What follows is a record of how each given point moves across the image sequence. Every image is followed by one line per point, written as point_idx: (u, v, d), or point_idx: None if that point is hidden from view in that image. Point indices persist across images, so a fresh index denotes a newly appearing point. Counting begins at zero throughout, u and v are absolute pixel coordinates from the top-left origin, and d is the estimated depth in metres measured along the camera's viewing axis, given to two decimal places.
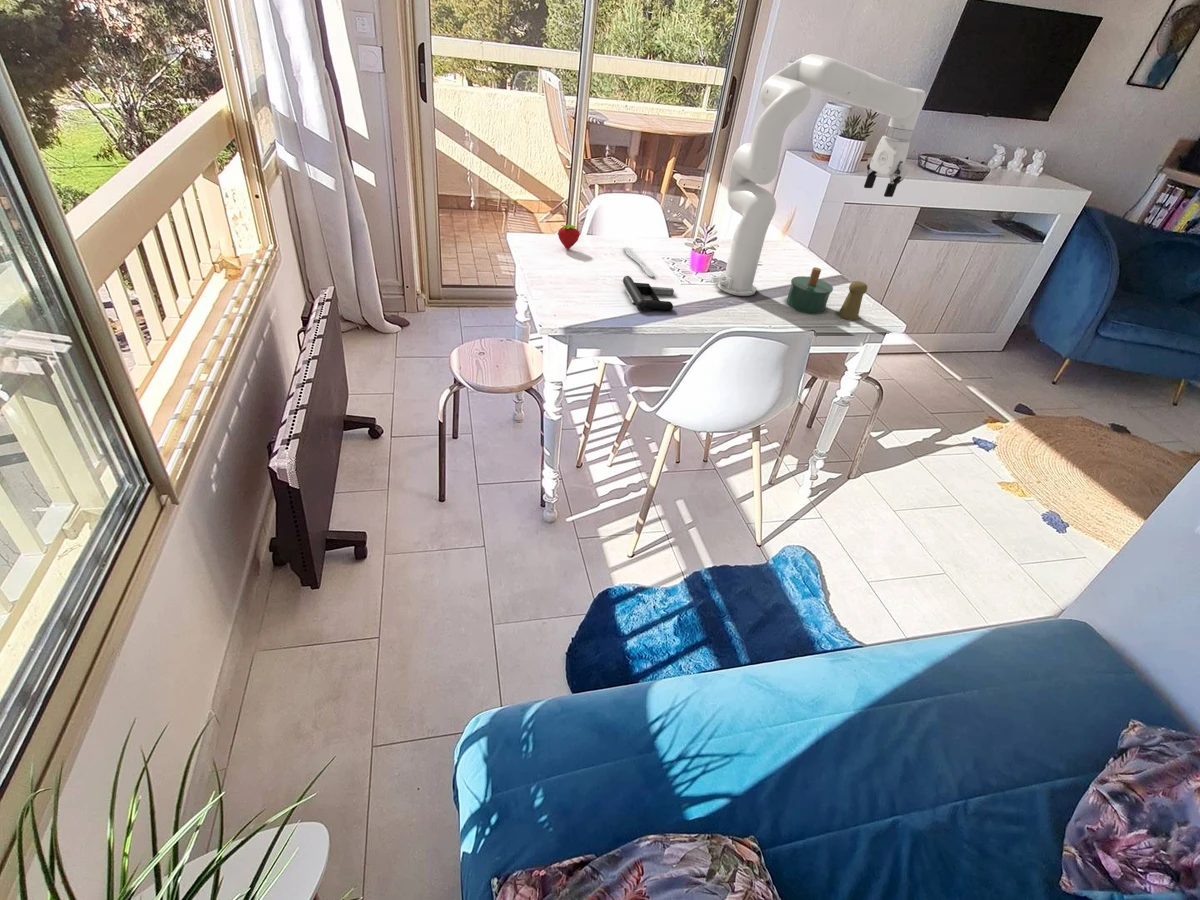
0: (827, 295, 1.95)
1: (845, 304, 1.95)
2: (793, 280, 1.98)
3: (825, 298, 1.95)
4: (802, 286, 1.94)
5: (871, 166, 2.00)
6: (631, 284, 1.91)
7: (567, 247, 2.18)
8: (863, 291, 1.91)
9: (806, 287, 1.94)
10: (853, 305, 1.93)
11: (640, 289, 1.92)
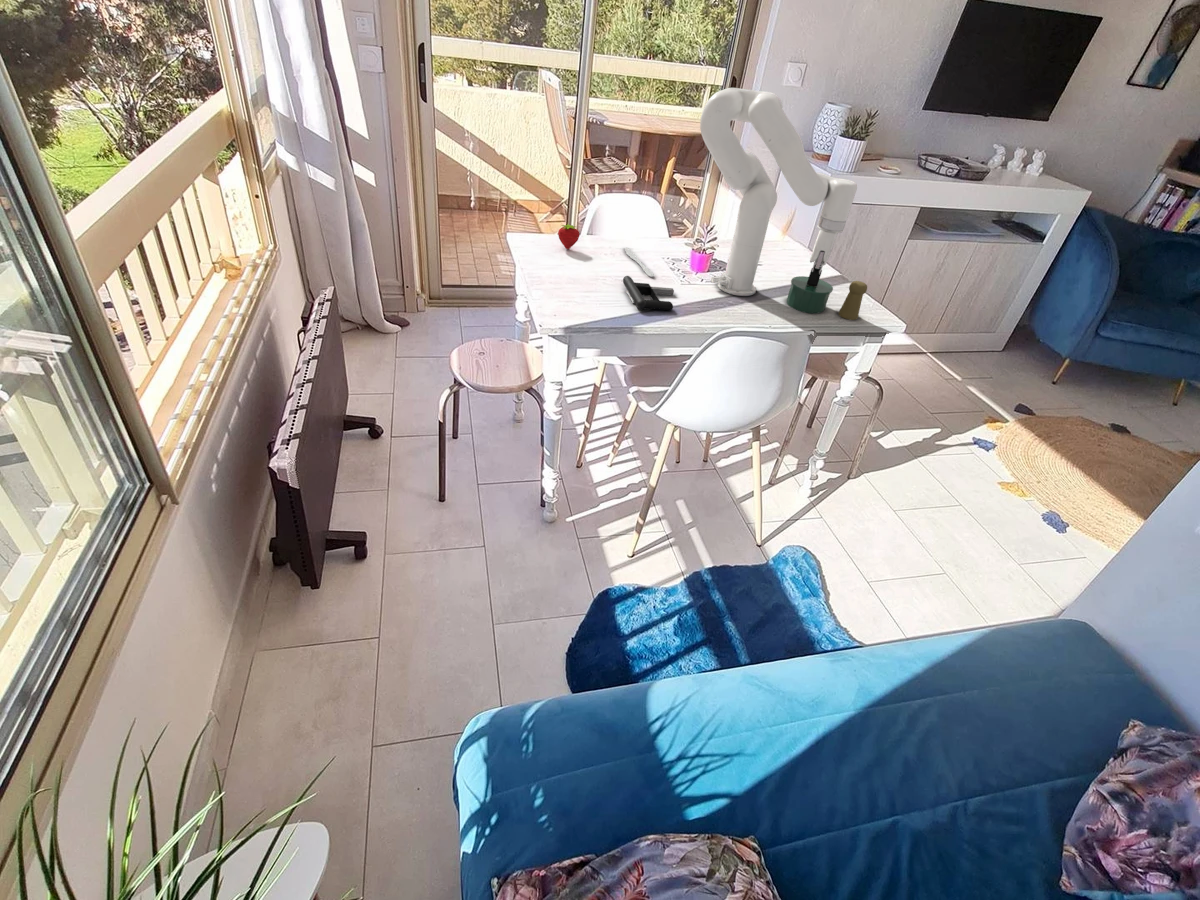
0: (827, 295, 1.95)
1: (845, 304, 1.95)
2: (793, 280, 1.98)
3: (825, 298, 1.95)
4: (802, 286, 1.94)
5: None
6: (631, 284, 1.91)
7: (567, 247, 2.18)
8: (863, 291, 1.91)
9: (806, 287, 1.94)
10: (853, 305, 1.93)
11: (640, 289, 1.92)
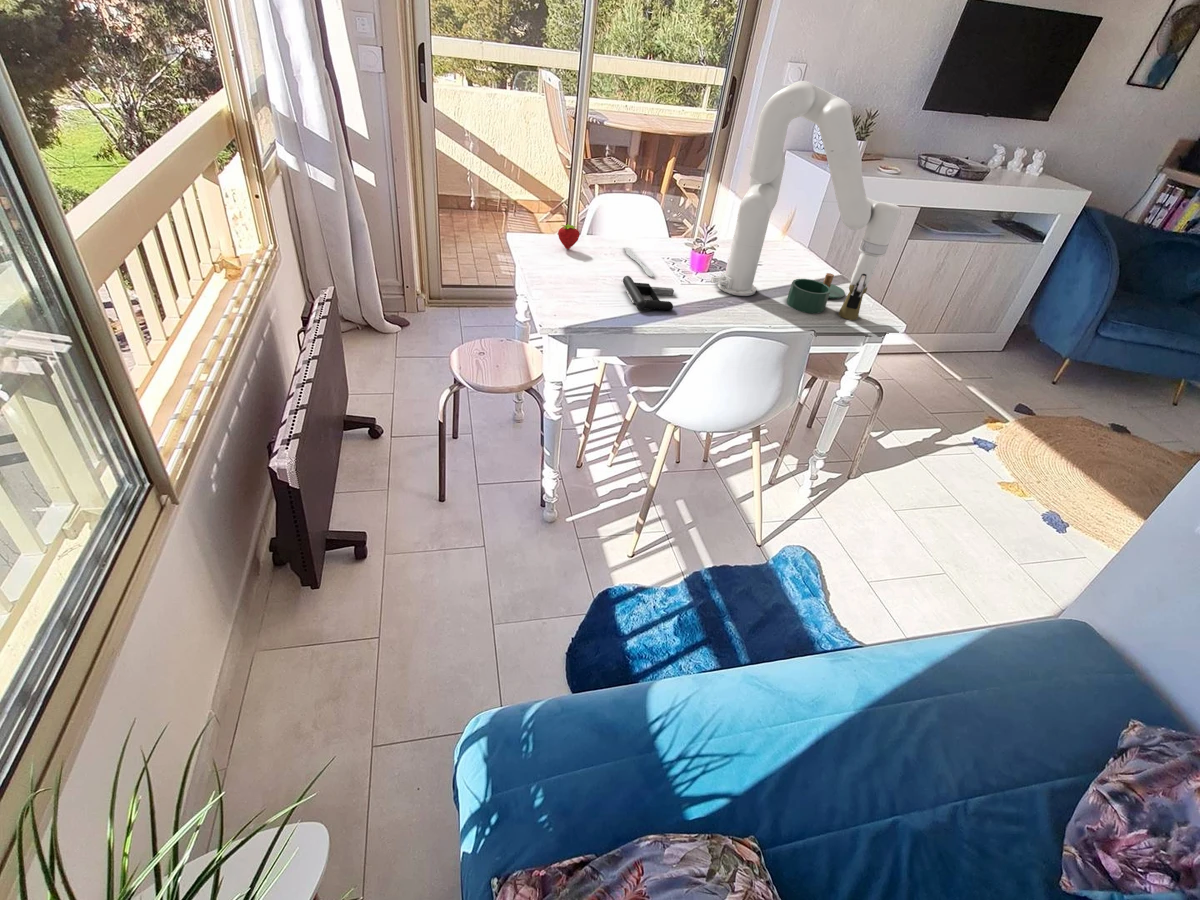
0: (827, 295, 1.95)
1: (845, 304, 1.95)
2: None
3: (825, 298, 1.95)
4: None
5: None
6: (631, 284, 1.91)
7: (567, 247, 2.18)
8: (863, 291, 1.91)
9: None
10: None
11: (640, 289, 1.92)
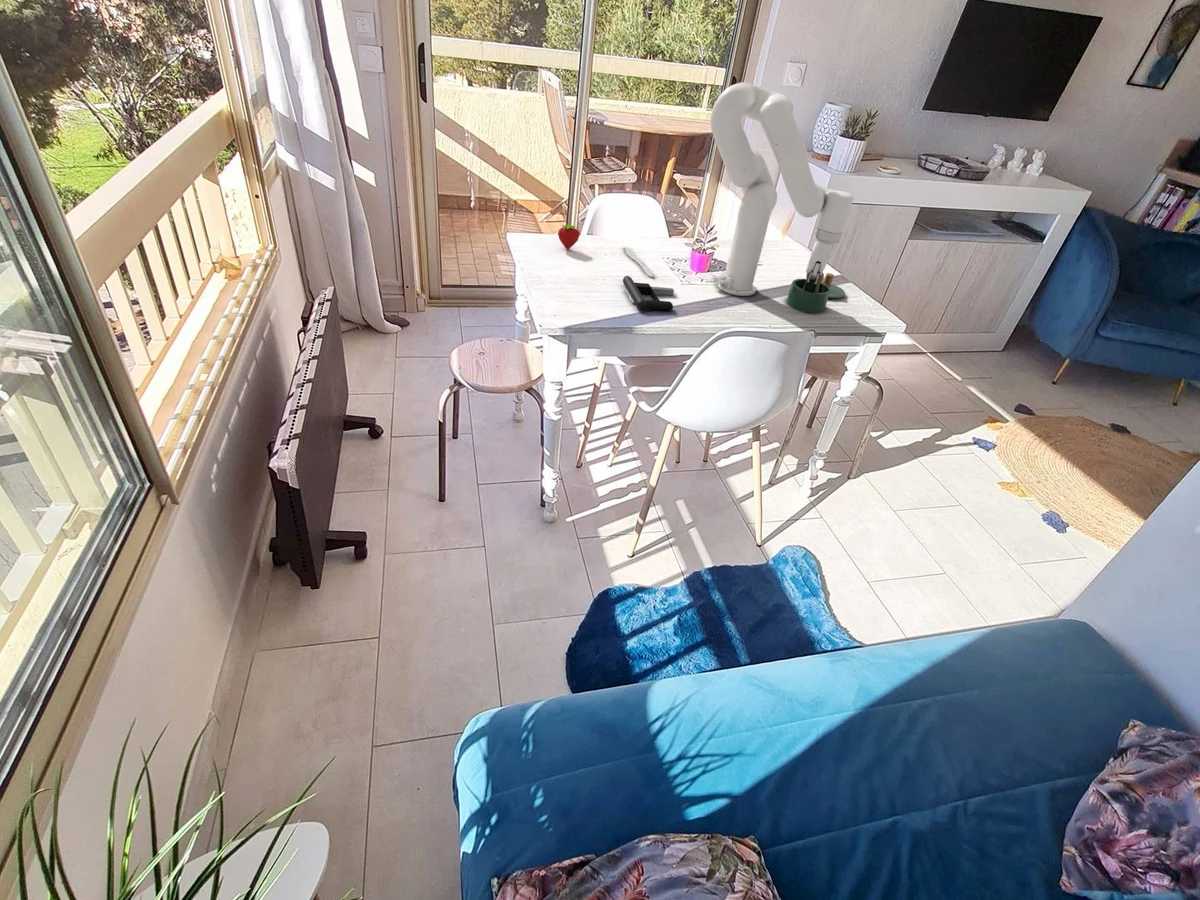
0: (827, 295, 1.95)
1: None
2: None
3: (825, 298, 1.95)
4: None
5: None
6: (631, 284, 1.91)
7: (567, 247, 2.18)
8: (819, 279, 1.93)
9: None
10: None
11: (640, 289, 1.92)
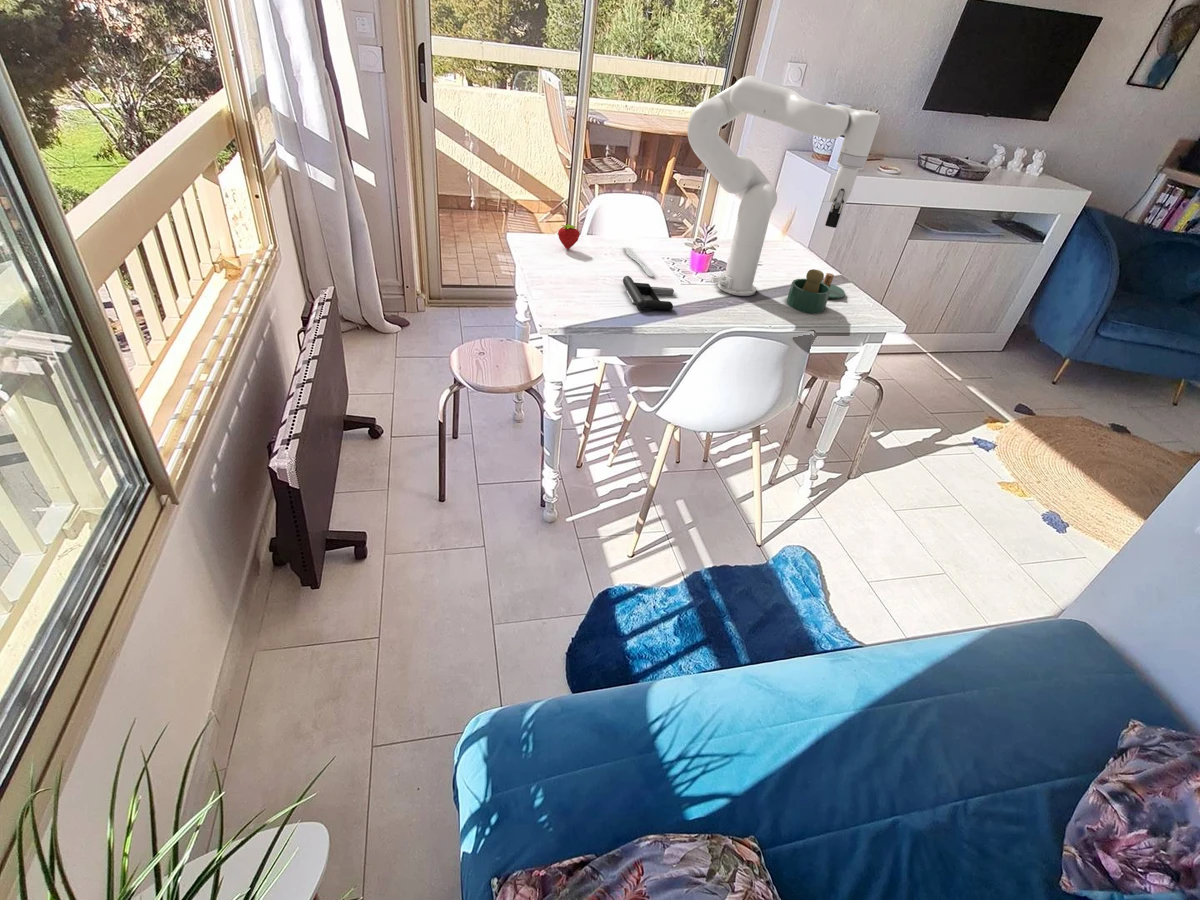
0: (827, 295, 1.95)
1: None
2: None
3: (825, 298, 1.95)
4: None
5: None
6: (631, 284, 1.91)
7: (567, 247, 2.18)
8: (819, 279, 1.93)
9: None
10: None
11: (640, 289, 1.92)
